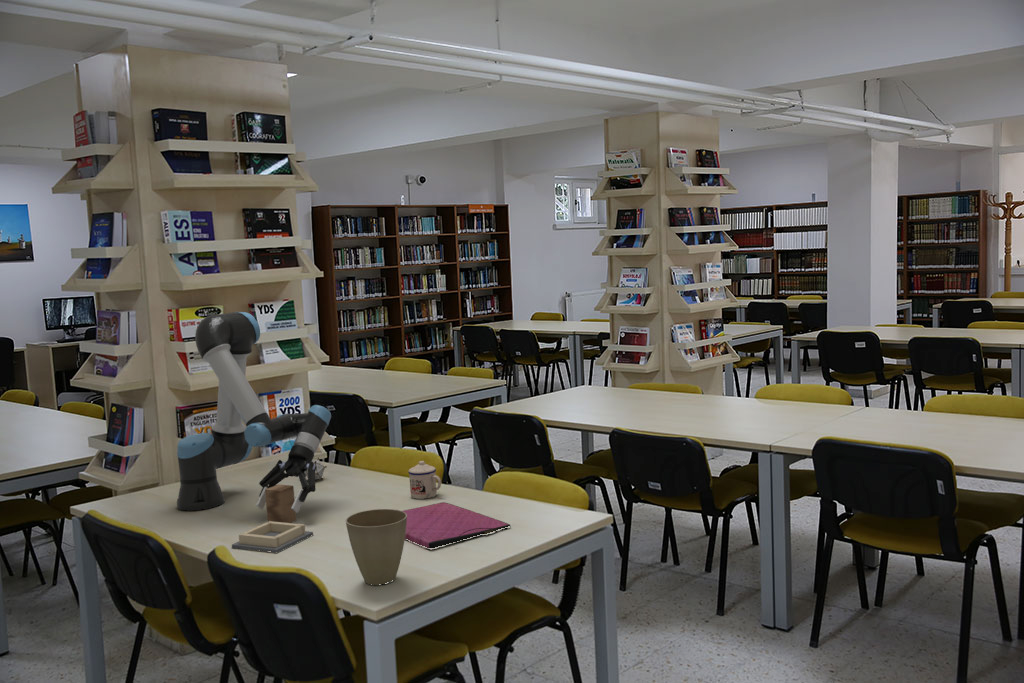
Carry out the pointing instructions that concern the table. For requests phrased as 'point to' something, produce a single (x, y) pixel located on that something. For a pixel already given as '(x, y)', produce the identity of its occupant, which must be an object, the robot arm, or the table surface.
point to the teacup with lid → (423, 481)
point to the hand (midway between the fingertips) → (276, 509)
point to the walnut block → (280, 503)
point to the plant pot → (377, 543)
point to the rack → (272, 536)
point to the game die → (317, 469)
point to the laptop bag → (446, 524)
